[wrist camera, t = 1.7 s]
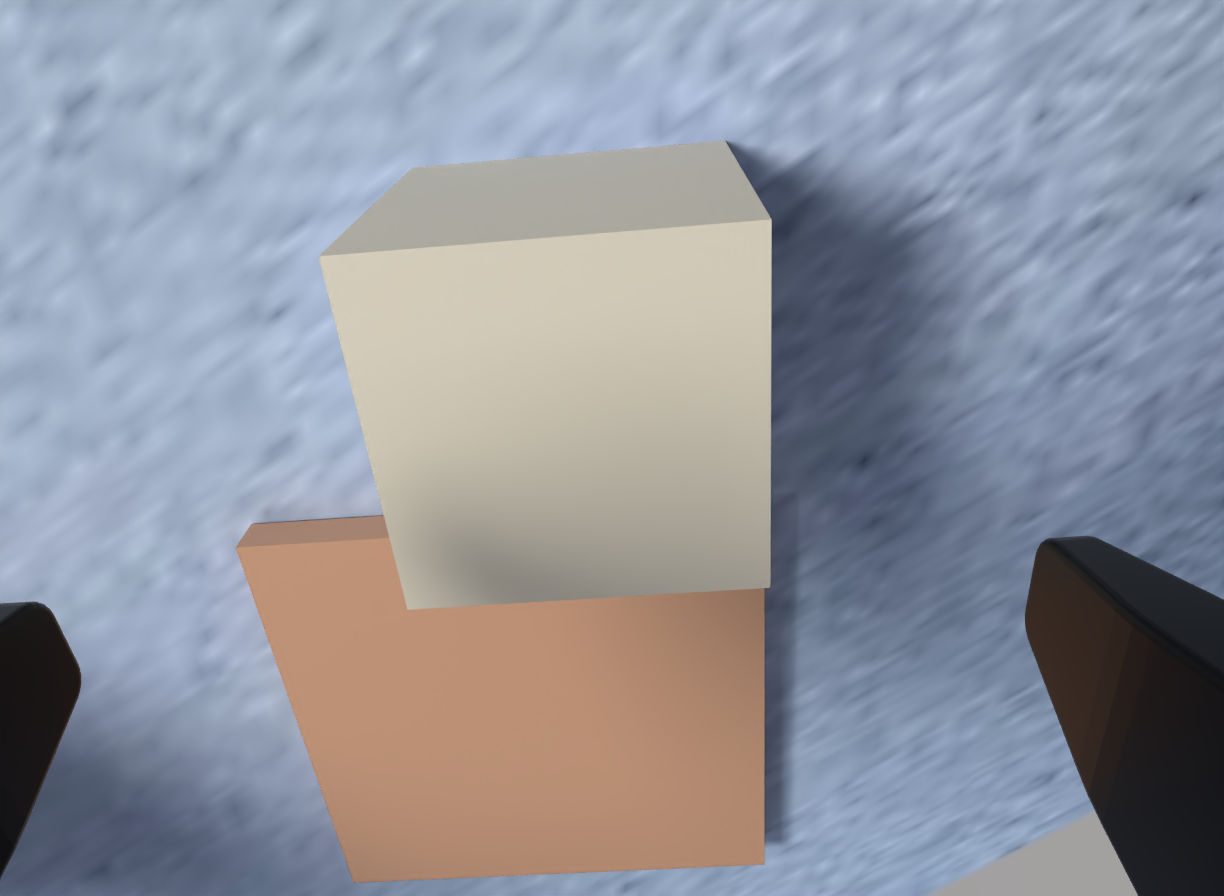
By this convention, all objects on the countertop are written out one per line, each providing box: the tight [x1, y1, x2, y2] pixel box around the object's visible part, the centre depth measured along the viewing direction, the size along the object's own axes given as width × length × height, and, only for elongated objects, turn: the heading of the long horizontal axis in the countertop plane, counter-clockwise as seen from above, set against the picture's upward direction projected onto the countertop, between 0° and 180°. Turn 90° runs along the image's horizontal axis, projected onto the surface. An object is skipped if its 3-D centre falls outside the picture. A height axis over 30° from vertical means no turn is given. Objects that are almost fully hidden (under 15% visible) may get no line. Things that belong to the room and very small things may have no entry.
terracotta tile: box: [236, 516, 765, 883], centre depth 19 cm, size 10×10×1 cm
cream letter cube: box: [319, 141, 772, 610], centre depth 13 cm, size 5×5×5 cm
